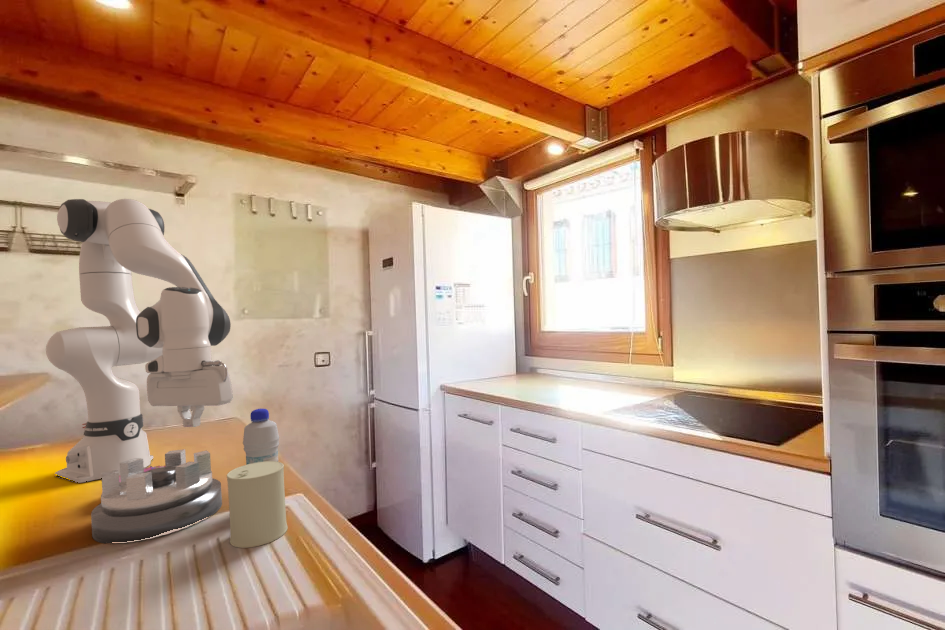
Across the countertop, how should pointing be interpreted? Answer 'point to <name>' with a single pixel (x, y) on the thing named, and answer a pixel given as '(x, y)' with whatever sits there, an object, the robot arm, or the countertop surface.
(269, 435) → the bottle
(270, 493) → the can
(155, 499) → the toothed metal gear
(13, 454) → the countertop surface
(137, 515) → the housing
